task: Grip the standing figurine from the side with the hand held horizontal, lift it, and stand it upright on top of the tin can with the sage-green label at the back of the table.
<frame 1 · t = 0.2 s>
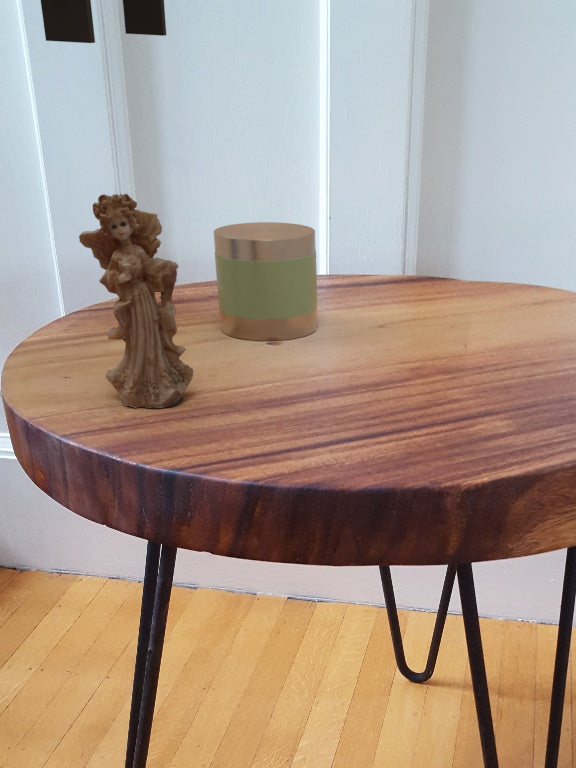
hand: (111, 38, 62), 24 cm above the table, tool pointing down, fingers open, 13 cm apart
figurine: (149, 400, 77), on the table
tin can: (269, 327, 96), on the table
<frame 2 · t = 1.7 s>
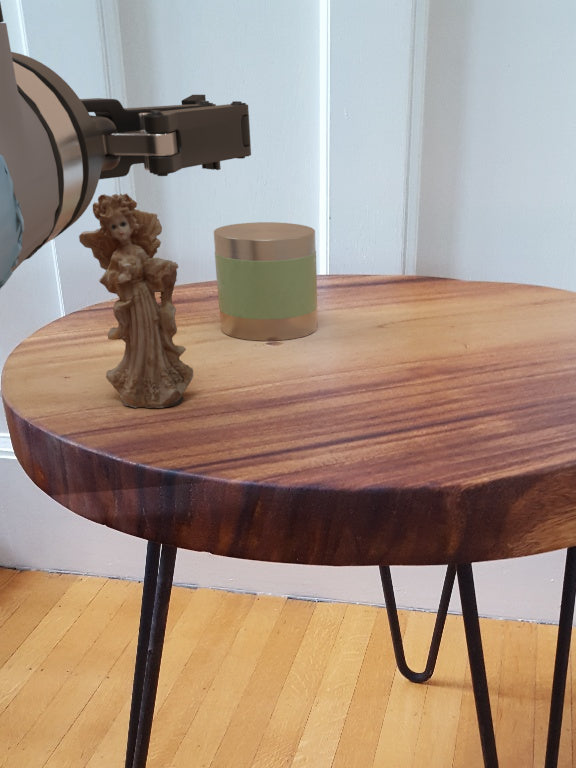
hand: (88, 120, 58), 20 cm above the table, tool horizontal, fingers open, 13 cm apart
nothing on the table moved.
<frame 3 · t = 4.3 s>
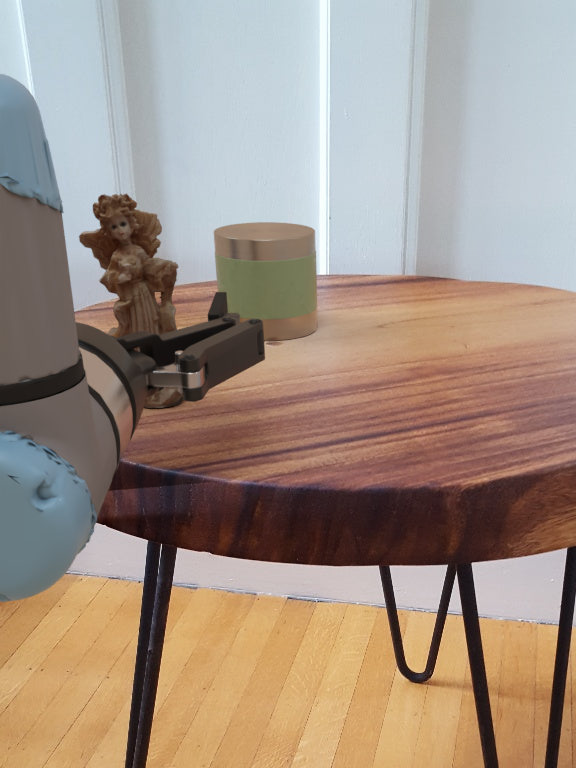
hand: (127, 311, 69), 8 cm above the table, tool horizontal, fingers open, 13 cm apart
nothing on the table moved.
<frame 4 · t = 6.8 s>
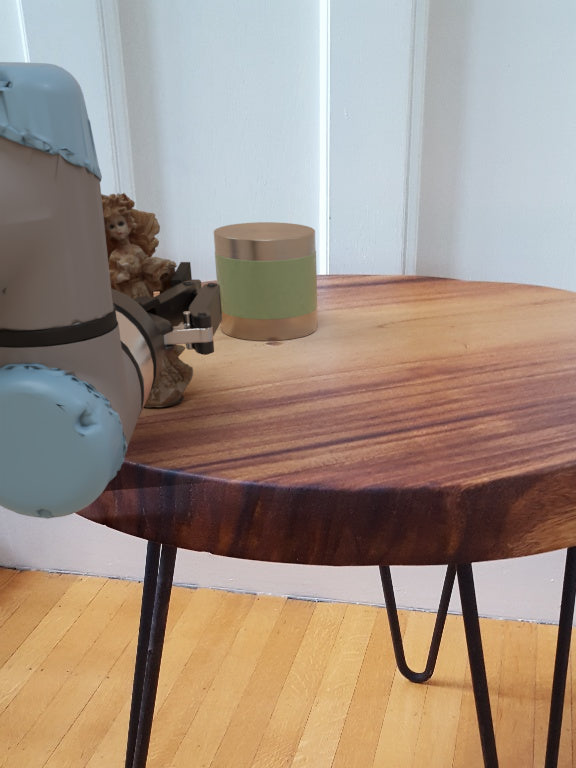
hand: (146, 280, 77), 8 cm above the table, tool horizontal, fingers closed on figurine, 6 cm apart
figurine: (149, 400, 77), on the table, touching gripper
everything else where it was.
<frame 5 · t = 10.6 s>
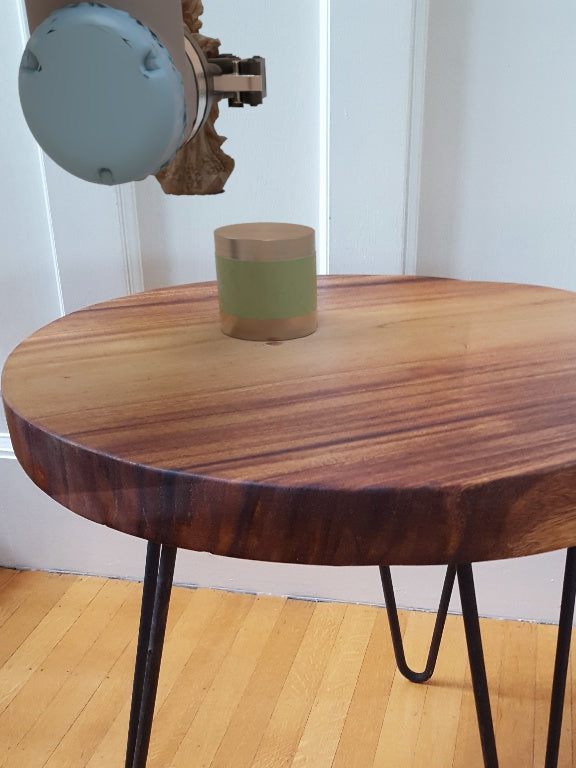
hand: (187, 73, 77), 22 cm above the table, tool horizontal, fingers closed on figurine, 6 cm apart
figurine: (190, 194, 77), point 14 cm above the table, touching gripper
everything else where it was.
when the fingers open (17 cm above the table, at t = 14.4 s): figurine stays where it is, resting on tin can.
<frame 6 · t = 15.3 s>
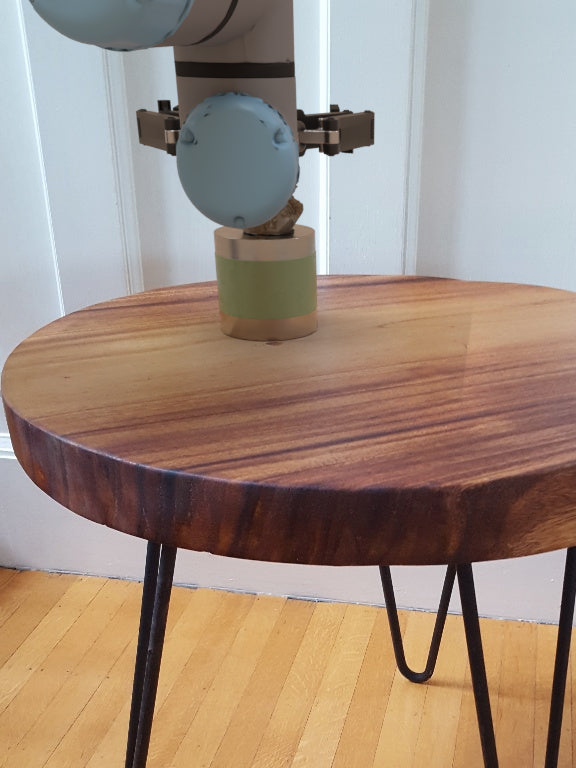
hand: (260, 120, 88), 18 cm above the table, tool horizontal, fingers open, 13 cm apart
figurine: (265, 232, 91), point 9 cm above the table, touching tin can
tin can: (269, 327, 96), on the table, touching figurine
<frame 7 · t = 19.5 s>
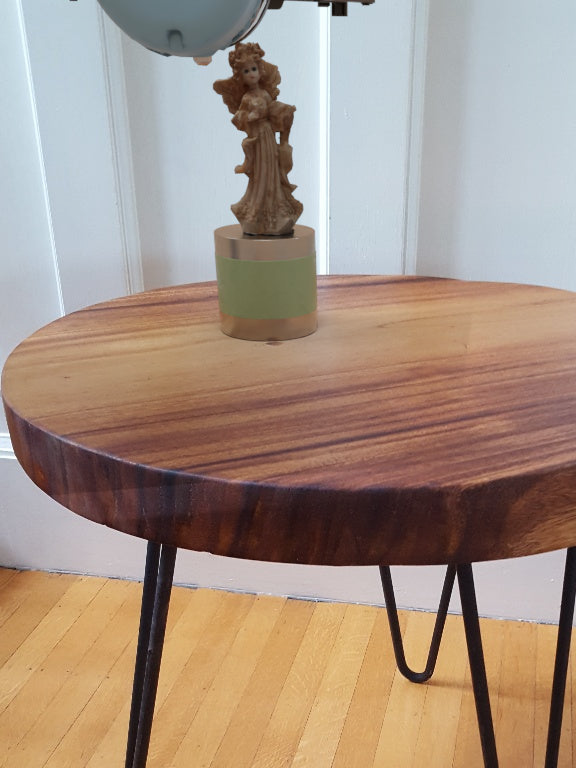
nothing on the table moved.
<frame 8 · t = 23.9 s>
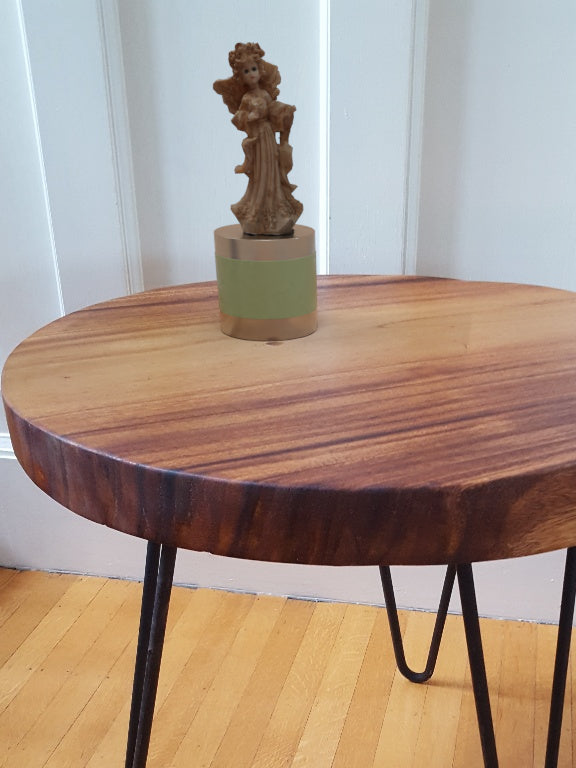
nothing on the table moved.
at the end: figurine 0.0 cm off-centre on the tin can, point 8.8 cm above the tin can's base; figurine tilted 0°; the gripper is holding nothing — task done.
